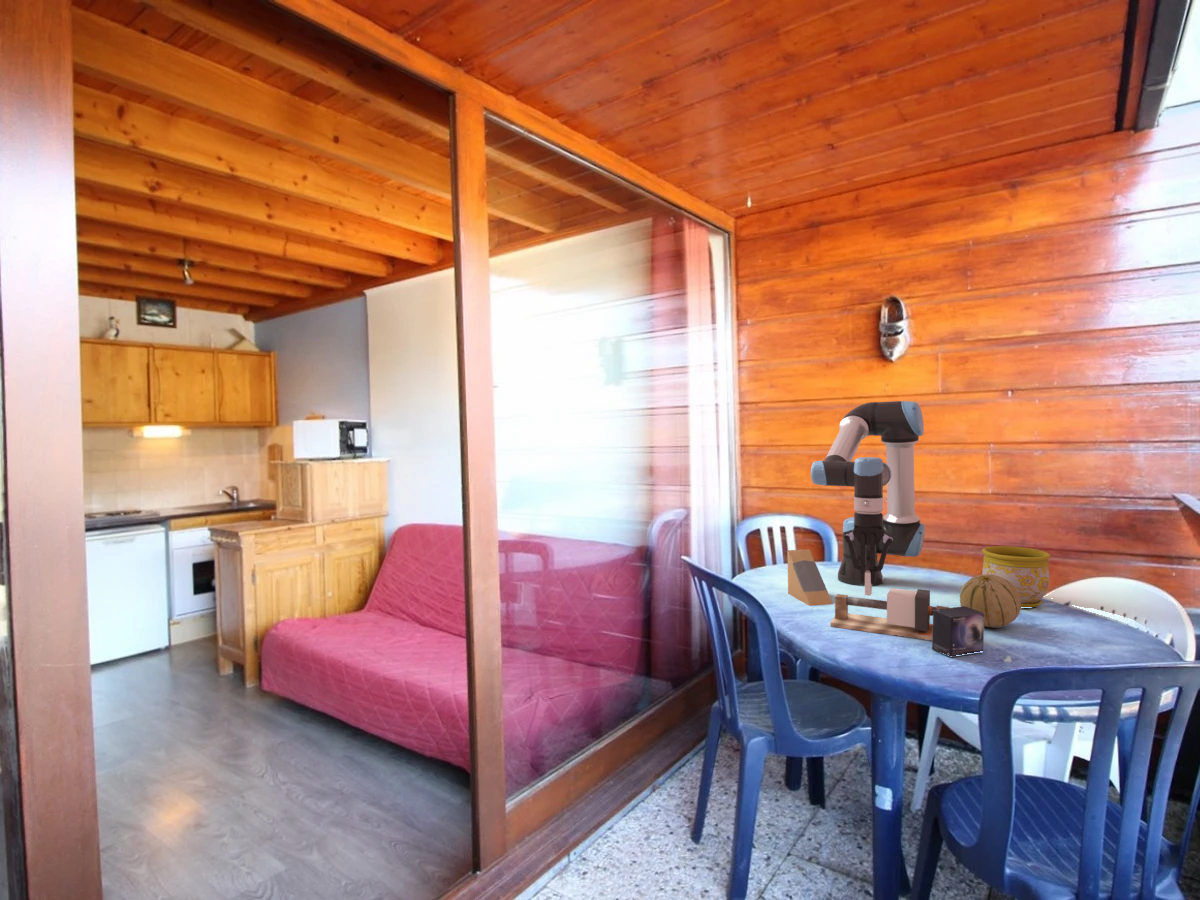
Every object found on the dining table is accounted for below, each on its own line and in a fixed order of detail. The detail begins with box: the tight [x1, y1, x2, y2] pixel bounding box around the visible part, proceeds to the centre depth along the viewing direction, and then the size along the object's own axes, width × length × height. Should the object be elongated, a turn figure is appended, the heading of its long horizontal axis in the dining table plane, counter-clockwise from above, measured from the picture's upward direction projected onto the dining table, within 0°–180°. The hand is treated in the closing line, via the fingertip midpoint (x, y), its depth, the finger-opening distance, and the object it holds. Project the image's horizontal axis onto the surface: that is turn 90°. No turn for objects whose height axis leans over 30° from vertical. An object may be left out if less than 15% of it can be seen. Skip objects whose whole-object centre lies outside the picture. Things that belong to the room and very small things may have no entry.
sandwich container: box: [786, 548, 834, 607], centre depth 212 cm, size 9×15×15 cm, turn 10°
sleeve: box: [886, 588, 917, 628], centre depth 179 cm, size 7×8×8 cm
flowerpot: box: [981, 545, 1051, 608], centre depth 203 cm, size 18×18×16 cm
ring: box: [915, 588, 931, 632], centre depth 177 cm, size 3×9×9 cm, turn 149°
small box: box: [931, 606, 985, 656], centre depth 163 cm, size 11×6×10 cm, turn 106°
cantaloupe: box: [959, 574, 1021, 629], centre depth 182 cm, size 15×15×15 cm
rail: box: [830, 593, 950, 641], centre depth 181 cm, size 30×11×8 cm, turn 59°
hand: (868, 594), depth 184 cm, fingers closed
